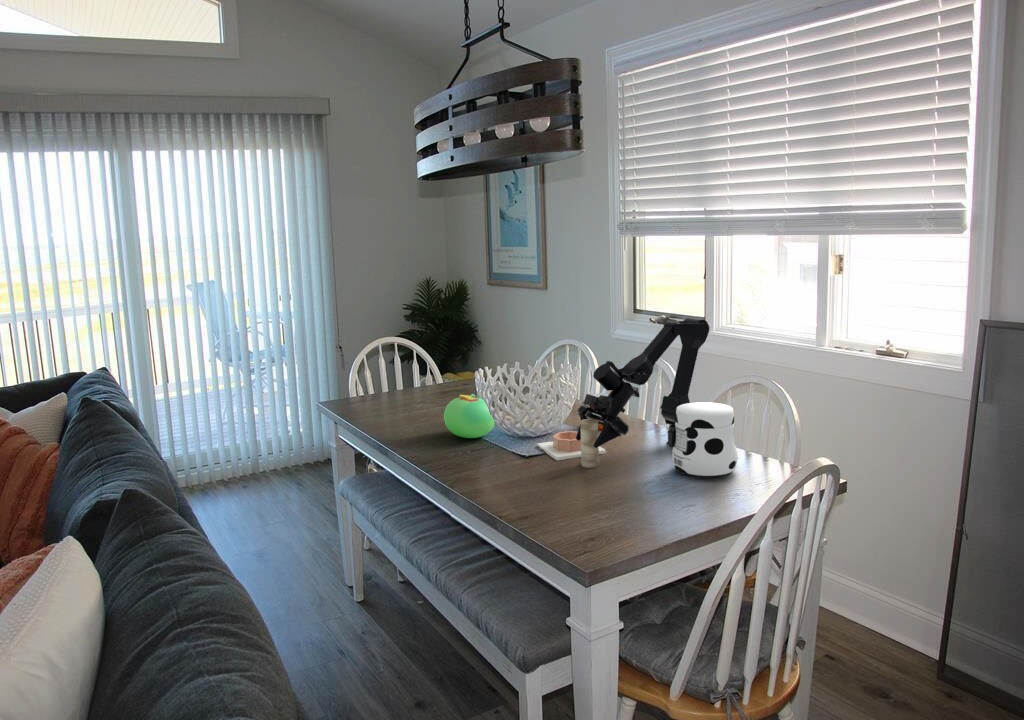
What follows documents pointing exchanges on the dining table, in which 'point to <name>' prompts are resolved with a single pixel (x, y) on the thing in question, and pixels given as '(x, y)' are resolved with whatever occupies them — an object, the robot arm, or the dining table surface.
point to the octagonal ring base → (564, 446)
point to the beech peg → (589, 443)
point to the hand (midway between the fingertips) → (585, 443)
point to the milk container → (704, 440)
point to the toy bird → (468, 417)
